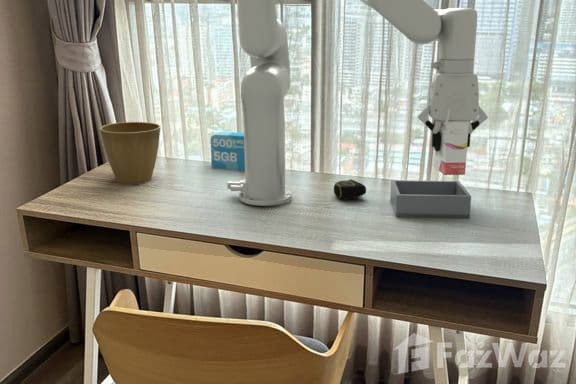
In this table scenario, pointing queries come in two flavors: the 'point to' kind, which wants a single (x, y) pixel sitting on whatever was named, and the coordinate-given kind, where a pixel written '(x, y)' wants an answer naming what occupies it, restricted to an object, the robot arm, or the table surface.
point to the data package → (228, 151)
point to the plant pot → (131, 150)
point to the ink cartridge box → (452, 147)
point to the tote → (430, 199)
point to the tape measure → (349, 189)
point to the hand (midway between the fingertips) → (450, 149)
